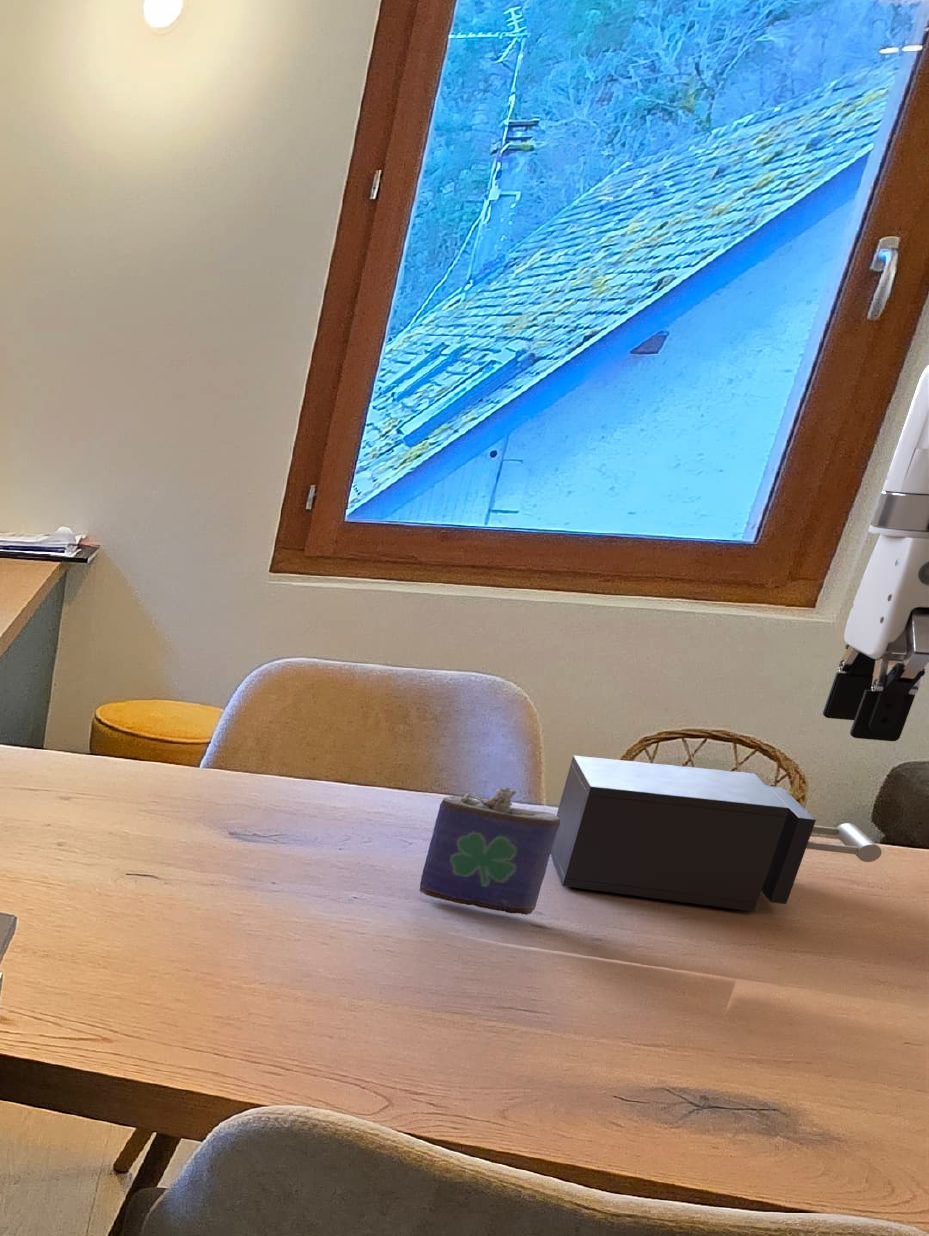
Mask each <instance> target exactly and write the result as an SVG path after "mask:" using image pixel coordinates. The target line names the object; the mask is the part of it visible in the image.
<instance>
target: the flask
mask: <svg viewBox="0 0 929 1236" xmlns="http://www.w3.org/2000/svg"><path fill="white" fill-rule="evenodd" d="M495 793H496V794H495V796H494V797H489V798H487V799H483V798H482V797H479V796H475V797H474V798H475V799H474V798H473V797H471V794H470V793H466V794H464V795H463V796H460V795H459V796H454V795H453V796H452V795H451V796H445V797H444V798H443V799H442V801H441V803H440V804H439V808H438V812H437V815H436V819H435V823H434V827H433V831H432V836H431V840H430V843H429V846H428V850H427V855H426V857H425V862H424V866H423V869H422V874H421V877H420V882H419V890H418V891H419V893H421V894H424V895H425V896H428V897H431V898H435V899H440V900H442V901H443V900H444V901H447V902H451V903H454V904H458V905H466V906H474V907H477V908H480V909H486V910H487V909H488V910H490V911H498V912H505V913H506V914H507V913H508V914H520V915H526V916H528V915H530V914H532V913H533V912H534V910H535V909H536V907H537V903H538V899H539V895H540V892H541V887H542V884H543V881H544V879H545V876H546V872H547V866H548V863H549V859H550V856H551V850H552V846H553V843H554V840H555V837H556V832H557V830H558V828H559V825H560V819H559V817H558V816H556V815H557V814H554V813H551V812H546V811H539V810H538V811H537V810H532V809H531V810H530V809H525V808H518V807H517V808H515V807H511V806H512V805H513V803H512V802H511V799H512V798H513V795H516V794H517V791H516V790H515V789H512V788H511V789H510V788H509V787H505V788H503V787H502V788H496V790H495Z"/></svg>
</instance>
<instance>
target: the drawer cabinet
mask: <svg viewBox="0 0 929 1236" xmlns="http://www.w3.org/2000/svg"><path fill="white" fill-rule="evenodd" d="M768 786H769V785H767V784H766V783H765V781H763V780H762V779H761V778H760V777H759V776H758V775H757V774H756V773H751V772H742V771H732V770H724V769H723V770H722V769H712V768H701V767H694V766H693V767H692V766H683V765H682V766H681V765H671V764H664V763H663V764H662V763H652V762H642V761H633V760H625V759H624V760H623V759H613V758H605V757H603V758H602V757H593V756H583V755H573V756H572V758H571V761H570V765H569V769H568V773H567V776H566V779H565V783H564V786H563V789H562V794H561V797H560V801H559V805H558V809H557V812H556V814H555V815H556V816H558V817H559V819H560V825H559V828H558V830H557V832H556V837H555V840H554V843H553V846H552V850H551V854H550V856H551V860H552V862H553V866H554V868H555V871H556V873H557V876H558V878H559V880H560V883H561V885H562V887H566V888H567V887H568V888H574V889H582V890H589V891H597V892H604V893H611V894H617V895H618V894H620V895H626V896H635V897H642V898H649V899H656V900H664V901H673V902H678V903H679V902H680V903H685V904H686V903H687V904H693V905H702V906H707V907H708V906H709V907H716V908H723V909H724V908H725V909H732V910H740V911H747V912H755V910H756V907H757V905H758V902H759V898H760V896H761V893H762V891H761V890H762V887H763V884H764V881H765V879H766V876H767V873H768V870H769V867H770V864H771V861H772V858H773V855H774V852H775V850H776V847H777V844H778V841H779V838H780V835H781V832H782V829H783V826H784V823H785V821H786V818H787V817H786V816H787V815H788V812H789V807H788V806H787V805H786V804H785V803H784V802H783V801H782V800H781V799H780V798H779V797H778V796H777V795H776V794H775V793H774V792H773V791H772V790H771V789H770V788H769V787H768Z"/></svg>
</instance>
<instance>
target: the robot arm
mask: <svg viewBox="0 0 929 1236" xmlns="http://www.w3.org/2000/svg"><path fill="white" fill-rule="evenodd" d="M882 487H883V488H882V491H881V493H880V495H879V499H878V502H877V504H876V507H875V511H874V513H873V517H872V519H871V523H870V525H869V528H868V531H867V532H868V533H870V534H873V535H879V537H878V540H877V541H876V544H875V546H874V549H873V551H872V552H871V554H870V558H869V560H868V563H867V565H866V568H865V570H864V573H863V576H862V578H861V580H860V584H859V586H858V588H857V591H856V594H855V597H854V599H853V602H852V605H851V609H850V611H849V614H848V617H847V621H846V625H845V628H844V633H843V639H844V642H845V643H846V644H845V647H844V648H845V652H844V654H843V656H842V658H841V659H840V661H839V663H838V667H837V670H838V671H837V672H836V673H835V676H834V679H833V681H832V684H831V688H830V691H829V694H828V697H827V699H826V703H825V705H824V708H823V711H822V715H823V717H825V718H826V719H831V720H832V719H834V720H845V721H853V723H852V725H851V728H850V731H849V735H850V736H851V737H852V738H855V739H860V740H861V739H862V740H871V741H872V740H873V741H881V742H882V741H885V742H897V741H898V740H899V739H900V738H901V736H902V733H903V730H904V727H905V725H906V721H907V719H908V717H909V714H910V711H911V708H912V705H913V703H914V700H915V697H916V694H917V693H918V691H919V689H920V685H921V679H922V677H924V676H925V674H926V671H925V670H926V666H927V665H928V663H929V364H928V365H927V366H926V367H925V369H924V370H923V372H922V374H921V376H920V378H919V381H918V384H917V386H916V390H915V391H914V395H913V397H912V401H911V403H910V407H909V410H908V413H907V416H906V419H905V422H904V425H903V427H902V430H901V433H900V436H899V439H898V442H897V445H896V448H895V451H894V455H893V457H892V460H891V462H890V466H889V469H888V472H887V475H886V478H885V481H884V483H883V486H882ZM889 666H892V667H891V669H890V670H889V671H888V669H889Z"/></svg>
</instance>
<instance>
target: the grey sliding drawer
mask: <svg viewBox="0 0 929 1236" xmlns="http://www.w3.org/2000/svg"><path fill="white" fill-rule="evenodd" d="M767 786H768V787H769V788H770V789H771V790H772V791H773V792H774V793H775V794H776V795H777V796H778V797H779V798H780V799H781V800H782V801H783V802H784V803H785V804H786V805H787V806H788V807H789V812H788V815H787V816H786V817H787V818H786V821H785V823H784V826H783V829H782V832H781V835H780V838H779V841H778V844H777V847H776V850H775V852H774V855H773V858H772V861H771V864H770V867H769V870H768V873H767V876H766V879H765V881H764V884H763V887H762V890H761V893H762V894H763V895H764V897H765V898H766V899H767V900H768V901H769V903H773V904H782V905H787V904H788V900H789V899H790V895H791V892H792V889H793V887H794V883H795V881H796V878H797V876H798V872H799V870H800V866H801V865H802V861H803V858H804V855H805V853H806V850H815V851H823V852H832V853H841V854H847V855H848V854H849V855H855V856H856V857H857V858H858V859H859V860H860V861H861V862H864V863H873V862H875V861H877V860H879V858H880V857H881V855H882V849H881V847H880V846H879V845H877V844H876V843H875V842H874V841H873V840H872V839H871V838H870V837H869V836H868V835H866V834H865V832H863V831H862V830H861V829H860V828H859V827H858V826H857V825H855V824H854V823H850V822H846V823H842V824H839V825H838V826H837V827H833V826H825V825H815V824H816V821H817V820H816V818H815V817H814V816H813V815H812V814H811V813H810V812H808V811H807V809H806V808H804V806H802V804H800V803H799V802H798V800H796V799H795V798H794V797H793V795H791V794H790V793H789V792H788V791H787V790H786V789H785V788H784V787H782V786H772V785H767ZM812 834H818V835H829V836H835V837H836V838H837V839H838V840H839V841H840V842H841V843H842V844H839V843H831V842H822V841H813V840H810V838H811V836H812Z"/></svg>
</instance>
